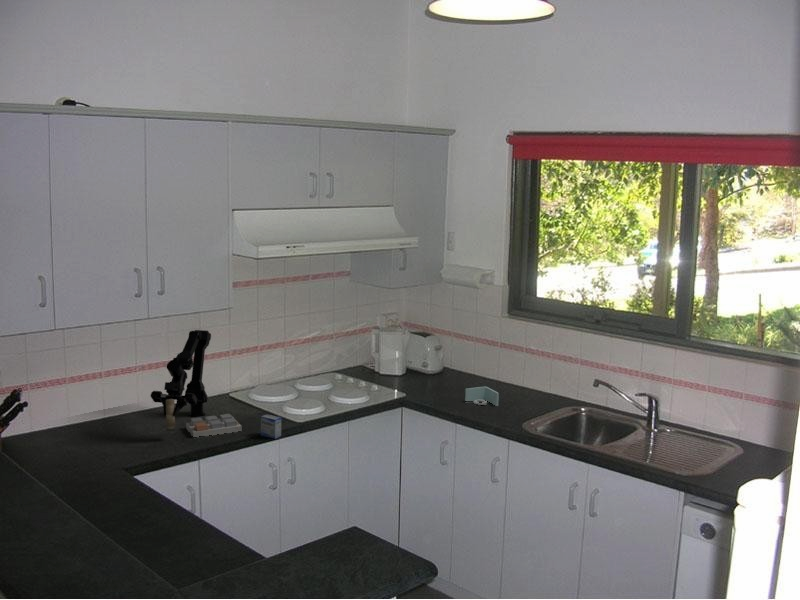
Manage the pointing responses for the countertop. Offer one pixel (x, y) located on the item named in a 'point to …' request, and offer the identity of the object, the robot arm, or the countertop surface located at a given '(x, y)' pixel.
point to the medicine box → (270, 426)
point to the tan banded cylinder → (170, 415)
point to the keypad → (214, 425)
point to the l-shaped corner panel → (482, 395)
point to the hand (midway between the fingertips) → (169, 415)
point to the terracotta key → (200, 426)
